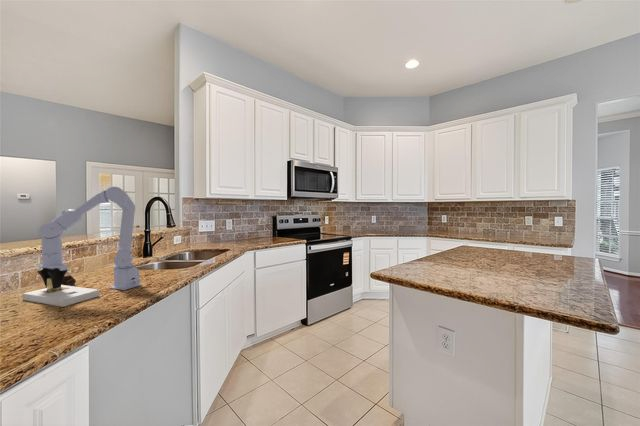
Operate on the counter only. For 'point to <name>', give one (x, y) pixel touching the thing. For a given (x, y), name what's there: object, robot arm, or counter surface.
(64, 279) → the bolt
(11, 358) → the counter surface
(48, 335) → the counter surface
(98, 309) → the counter surface
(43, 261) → the robot arm
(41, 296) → the fitting plate
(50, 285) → the brass cylinder
